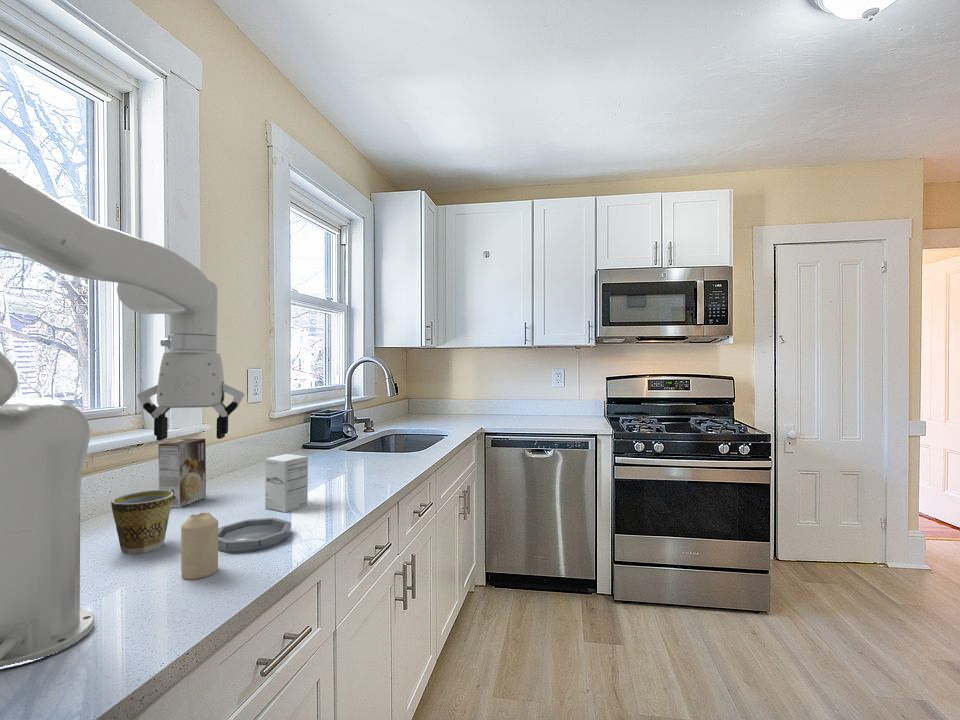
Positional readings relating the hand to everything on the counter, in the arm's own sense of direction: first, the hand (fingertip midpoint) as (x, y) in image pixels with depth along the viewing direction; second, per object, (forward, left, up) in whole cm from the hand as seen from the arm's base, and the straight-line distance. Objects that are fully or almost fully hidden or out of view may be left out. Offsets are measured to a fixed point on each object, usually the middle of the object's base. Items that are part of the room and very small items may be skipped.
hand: (191, 438), depth 88 cm
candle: (-6, -3, -23) cm, 24 cm away
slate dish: (+9, -8, -22) cm, 25 cm away
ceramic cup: (+10, +13, -23) cm, 28 cm away
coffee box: (+41, +16, -23) cm, 49 cm away
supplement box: (+31, -11, -23) cm, 40 cm away
